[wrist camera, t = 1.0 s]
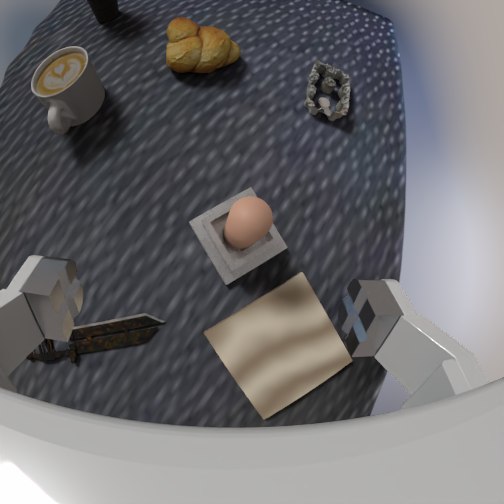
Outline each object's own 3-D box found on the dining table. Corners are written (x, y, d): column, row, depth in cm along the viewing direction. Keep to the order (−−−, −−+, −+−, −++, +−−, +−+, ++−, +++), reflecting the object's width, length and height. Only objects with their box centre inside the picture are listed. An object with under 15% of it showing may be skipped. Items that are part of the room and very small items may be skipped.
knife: (163, 310, 41) (162, 311, 40) (171, 354, 41) (170, 357, 39) (21, 322, 37) (17, 323, 36) (29, 361, 37) (25, 363, 35)
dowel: (260, 240, 42) (281, 226, 30) (233, 256, 42) (243, 248, 30) (244, 213, 42) (258, 188, 30) (216, 229, 42) (220, 209, 30)
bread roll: (241, 47, 46) (247, 18, 38) (233, 85, 45) (239, 56, 37) (173, 40, 44) (170, 11, 36) (159, 78, 43) (153, 48, 35)
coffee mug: (67, 80, 41) (48, 48, 31) (113, 80, 42) (98, 44, 32) (39, 143, 39) (11, 118, 30) (86, 147, 41) (61, 118, 31)
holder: (285, 248, 44) (295, 244, 39) (225, 285, 42) (228, 286, 37) (249, 189, 44) (255, 178, 39) (189, 223, 42) (187, 216, 37)
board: (349, 358, 44) (352, 360, 43) (262, 416, 41) (263, 419, 40) (299, 272, 44) (302, 272, 43) (204, 331, 41) (204, 333, 40)
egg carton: (338, 127, 47) (348, 116, 43) (298, 111, 46) (305, 98, 42) (347, 83, 48) (355, 72, 44) (310, 68, 48) (316, 55, 44)
